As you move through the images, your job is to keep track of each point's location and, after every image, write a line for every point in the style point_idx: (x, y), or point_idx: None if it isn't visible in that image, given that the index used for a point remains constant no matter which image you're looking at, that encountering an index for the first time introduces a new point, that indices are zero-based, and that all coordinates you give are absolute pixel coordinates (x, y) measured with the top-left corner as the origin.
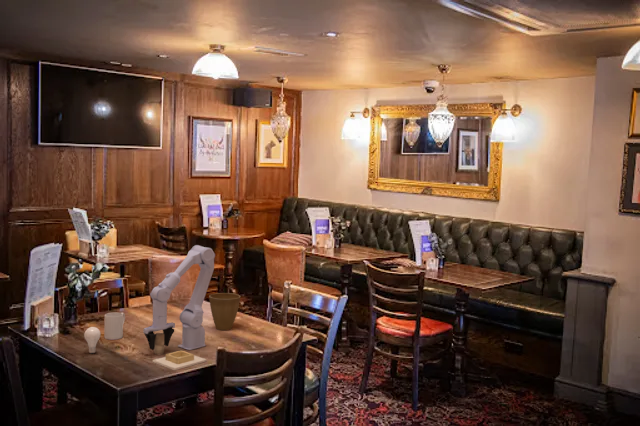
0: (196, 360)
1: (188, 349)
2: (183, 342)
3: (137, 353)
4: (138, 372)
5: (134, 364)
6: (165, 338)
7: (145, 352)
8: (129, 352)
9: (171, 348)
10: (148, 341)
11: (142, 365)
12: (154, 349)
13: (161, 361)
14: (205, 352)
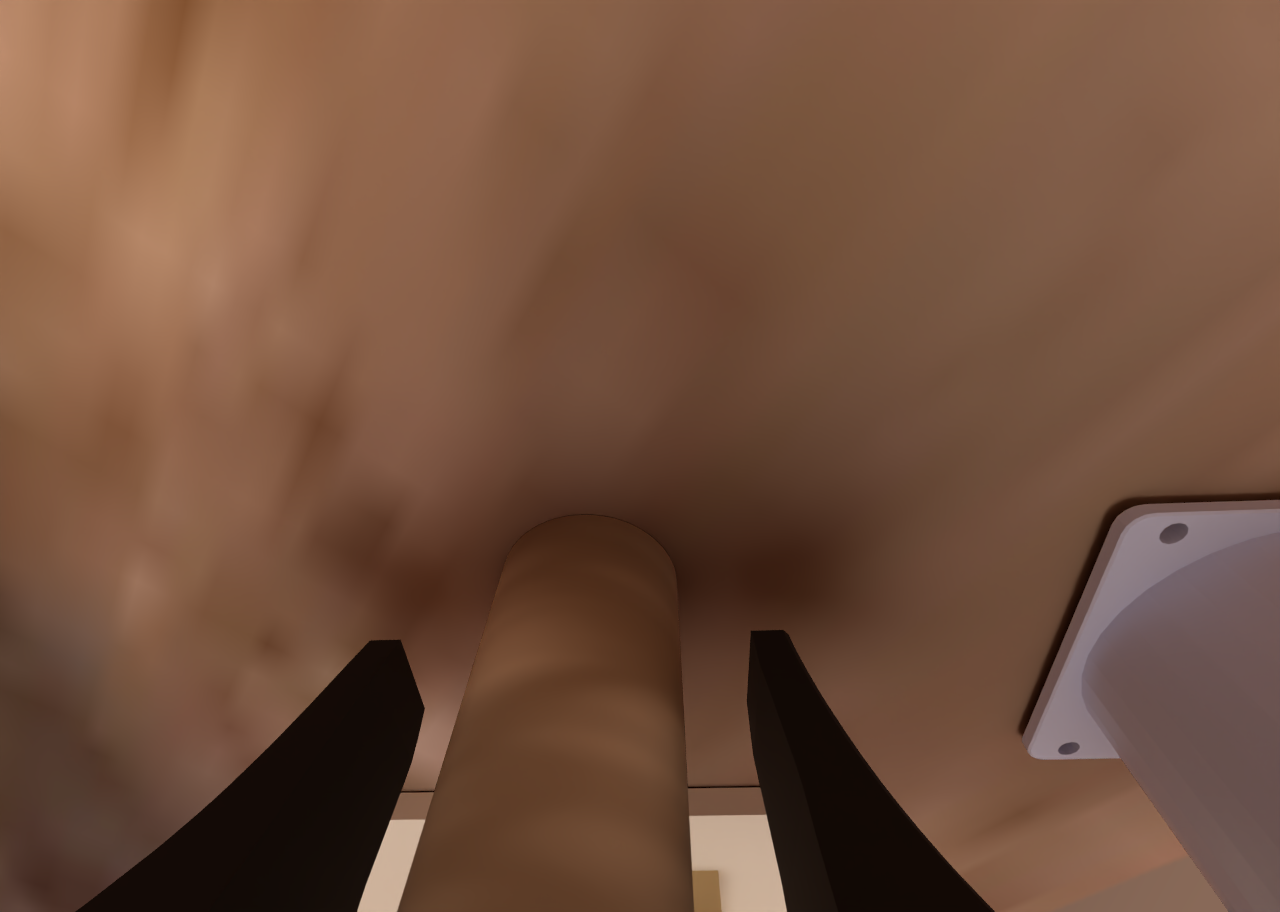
0: None
1: (1026, 746)
2: (1157, 717)
3: (207, 376)
4: (74, 901)
5: (58, 747)
6: (789, 809)
7: (386, 420)
8: (28, 191)
9: (944, 514)
10: (243, 791)
11: (159, 808)
12: (486, 625)
13: (388, 885)
14: (1074, 861)
